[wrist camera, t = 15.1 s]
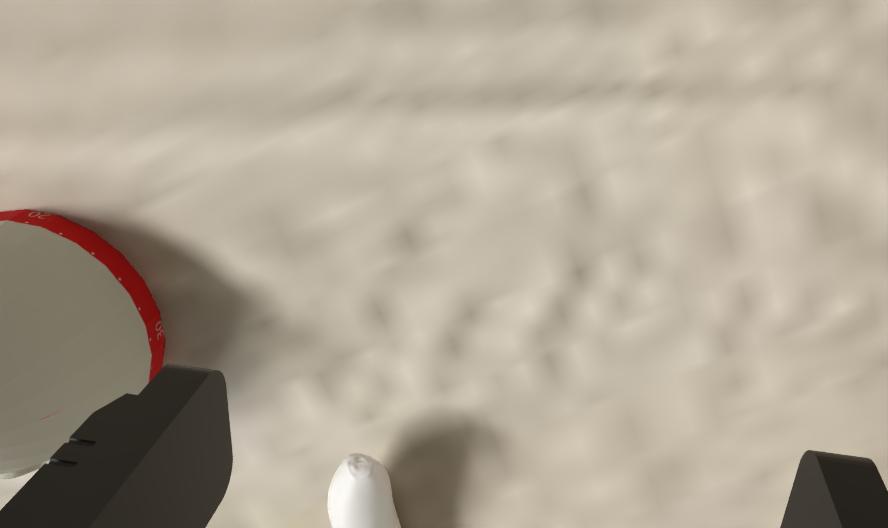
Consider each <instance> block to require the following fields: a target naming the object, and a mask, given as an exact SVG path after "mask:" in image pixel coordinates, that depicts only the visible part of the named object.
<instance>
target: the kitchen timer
mask: <svg viewBox="0 0 888 528" xmlns="http://www.w3.org/2000/svg"><path fill="white" fill-rule="evenodd" d="M164 348H165V337H164V332H163V327H162V322H161V317H160V312H159V310H158V308H157V306H156V304H155V302H154V300H153V298H152V296H151V294H150V292H149V290H148V288H147V286H146V283H145V281H144V280H143V279H142V278H141V277H140V275H139V274H138V273H137V272H136V271H135V269H134V268H133V267H132V266H131V265H130V263H129V262H128V261H127V260H126V259H125V257H124V256H123V255H122V254H121V253H120V252H119V251H117V250H116V249H115V248H113V247H112V246H111V245H110V244H108V243H107V242H106V241H104V240H103V239H102V238H101V237H99V236H98V235H97V234H95V233H94V232H93V231H91V230H89V229H87V228H85V227H82V226H80V225H78V224H76V223H74V222H72V221H70V220H67V219H65V218H63V217H61V216H58V215H53V214H48V213H43V212H37V211H32V210H27V209H25V210H16V211H6V212H0V478H1V479H11V478H16V477H19V476H22V475H24V474H27V473H30V472H32V471H35V470H37V469H40V468H41V467H42V466H43V465H44V464H45V463H46V464H49V462H50V458H51V456H52V455H53V454H54V453H55V452H56V451H57V450H58V449H59V448H60V447H61V446H62V445H63V444H64V443H68V442H69V437H70V436H71V435H72V434H73V433H74V432H75V431H76V430H77V429H78V428H79V427H80V426H81V425H82V424H83V423H84V422H85V421H86V419H87V418H88V417H89V416H90V415H91V414H92V413H93V412H95V411H97V410H98V409H100V408H102V407H104V406H105V405H107V404H109V403H111V402H112V401H114V400H116V399H118V398H119V397H121V396H123V395H124V394H126V393H128V394H135V395H138V394H139V393H140V392H141V391H142V390H143V389H144V388H145V387H146V386H147V384H148V383H149V382H150V381H151V380H152V379H153V378H154V377H155V375H156V374H157V373H158V372H159V371H160V370H161V369H162V364H163V356H164Z"/></svg>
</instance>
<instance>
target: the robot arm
mask: <svg viewBox="0 0 888 528" xmlns="http://www.w3.org/2000/svg"><path fill="white" fill-rule="evenodd" d="M232 463H233V454H232V443H231V433H230V422H229V412H228V402H227V391H226V383H225V379H224V376H223V374H222V373H221V372H220V371H218V370H211V369H203V368H196V367H189V366H182V365H174V364H168V365H166V366H164V367H163V368H162V369H161V370H160V371H159V372H158V373H157V374H156V375H155V377H154V378H153V379H152V380H151V381H150V382H149V383H148V384H147V386H146V387H145V388H144V389H143V390H142V391H141V392H140V393H139V394H138V395H135V394H128V393H126V394H124V395H123V396H121V397H119V398H118V399H116V400H114V401H112V402H111V403H109V404H107V405H105V406H104V407H102V408H100V409H98V410H97V411H95V412H93V413H92V414H91V415H90V416H89V417H88V418H87V419H86V421H85V422H84V423H83V424H82V425H81V426H80V427H79V428H78V429H77V430H76V431H75V432H74V433H73V434H72V435H71V436H70V437H69V442H68V443H64V444H63V445H62V446H61V447H60V448H59V449H58V450H57V451H56V452H55V453H54V454H53V455H52V456H51V458H50V462H49V464H46V463H45V464H44V465H43V466H42V467H41V468H40V469H39V470H38V471H37V472H36V473H35V474H34V476H33V477H32V478H31V479H30V480H29V481H28V482H27V483H26V484H25V485H24V486H23V487H22V488H21V489H20V490H19V491H18V492H17V493H16V495H15V496H14V497H13V498H12V499H11V500H10V501H9V502H8V503H7V504H6V505H5V506H4V507H3V508H2V509H1V510H0V528H205V527H206V526H207V524H208V522H209V521H210V519H211V517H212V516H213V514H214V512H215V511H216V509H217V507H218V506H219V504H220V503H221V501H222V499H223V497H224V495H225V493H226V490H227V487H228V484H229V481H230V476H231V471H232ZM780 528H888V491H887V489H886V487H885V485H884V482H883V480H882V478H881V476H880V474H879V472H878V469H877V467H876V465H875V464H874V462H873V461H872V460H871V459H869V458H863V457H856V456H848V455H841V454H834V453H826V452H819V451H812V450H808V451H806V452H805V453H804V455H803V456H802V458H801V460H800V463H799V467H798V470H797V473H796V477H795V480H794V483H793V487H792V490H791V494H790V497H789V500H788V504H787V507H786V510H785V514H784V517H783V521H782V524H781V527H780Z"/></svg>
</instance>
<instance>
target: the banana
mask: <svg viewBox="0 0 888 528" xmlns="http://www.w3.org/2000/svg"><path fill="white" fill-rule="evenodd" d="M328 513H329V517H330V521H331V525H332V528H401V525H400V522H399V519H398V516H397V513H396V510H395V506H394V503H393V498H392V490H391V484H390V479H389V476H388V473H387V470H386V469H385V467H384V466H383V465H382V464H381V463H380V462H379V461H377V460H375V459H373V458H371V457H369V456H367V455H363V454H357V453H355V454H351V455H349V456H348V457H346V458H345V459H344V461H343V462H342V463H341V465H340V466H339V467H338V469H337V471H336V473H335V474H334V477H333V479H332V482H331V485H330V488H329V493H328Z"/></svg>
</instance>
